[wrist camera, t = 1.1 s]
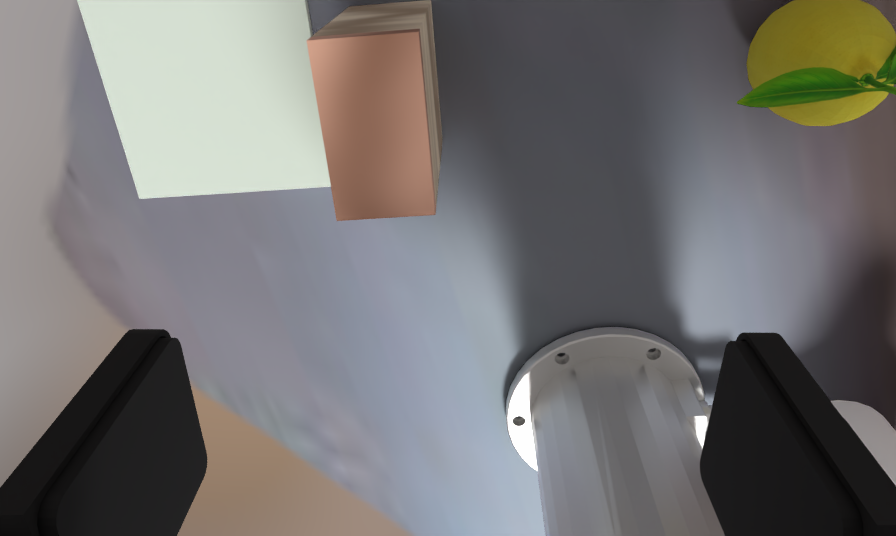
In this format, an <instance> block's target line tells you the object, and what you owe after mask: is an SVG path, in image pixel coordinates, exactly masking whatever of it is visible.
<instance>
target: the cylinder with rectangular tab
mask: <svg viewBox="0 0 896 536" xmlns="http://www.w3.org/2000/svg"><path fill="white" fill-rule="evenodd" d="M831 403H832V404H833V405H834V407H835V408H836V409H837V410H838V412H839V413H840V414H841V416H842V417H843V418H844V419H845V420H846V421H847V422H848V423H849V425H850V426H851V427H852V429H853V430H854V431H855V433H856V434H857V435H858V437H859V438H860V439H861V441H862V442H863V443H864V445H865V446H866V447H867V449H868V450H869V451H870V452H871V454H872V455H873V456H874V458H875V459H876V460H877V462H878V463H879V464H880V466H881V467H882V468H883V470H884V471H885V472H886V474H887V475H888V476H889V478H890V479H891V480H892V482H893V483H894V484H895V485H896V431H895V429H894V428H893V427H892V426H891V425H890V424H889V422H888V421H887V420H886V419H885V418H884V416H883V415H881V414H880V413H879V412H877V411H876V410H875V409H873V408H872V407H870V406H867V405H864V404H861V403H858V402H853V401H843V400H834V401H831Z"/></svg>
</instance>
